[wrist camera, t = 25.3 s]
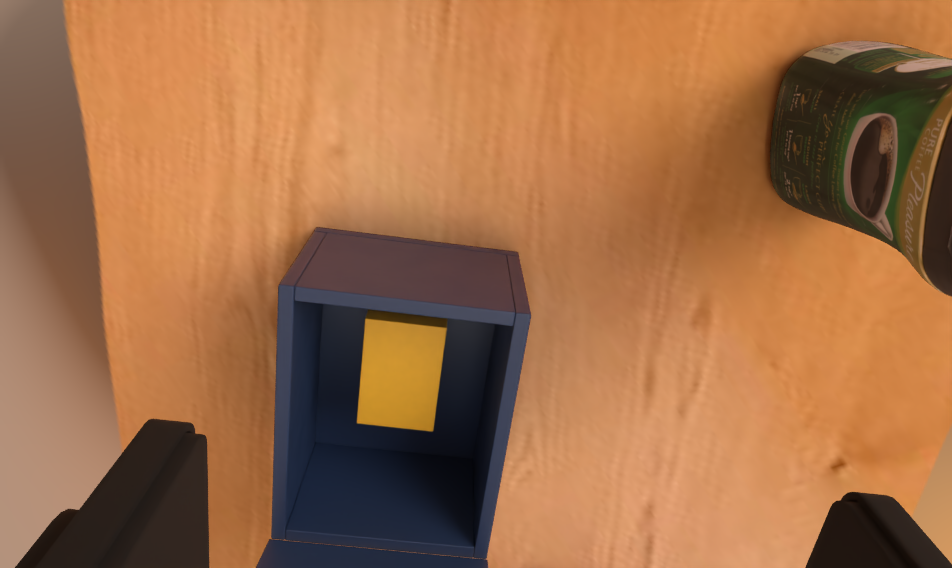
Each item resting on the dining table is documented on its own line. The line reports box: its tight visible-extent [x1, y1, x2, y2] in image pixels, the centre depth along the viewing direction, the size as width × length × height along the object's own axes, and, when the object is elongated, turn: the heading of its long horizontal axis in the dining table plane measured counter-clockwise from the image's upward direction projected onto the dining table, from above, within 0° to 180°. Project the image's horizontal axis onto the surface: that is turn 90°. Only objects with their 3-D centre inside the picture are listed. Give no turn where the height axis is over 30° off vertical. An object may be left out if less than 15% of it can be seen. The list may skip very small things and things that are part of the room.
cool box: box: [271, 227, 531, 559], centre depth 41 cm, size 16×13×9 cm
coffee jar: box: [770, 41, 952, 297], centre depth 31 cm, size 10×8×19 cm
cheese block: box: [357, 309, 447, 431], centre depth 42 cm, size 7×5×5 cm, turn 172°
